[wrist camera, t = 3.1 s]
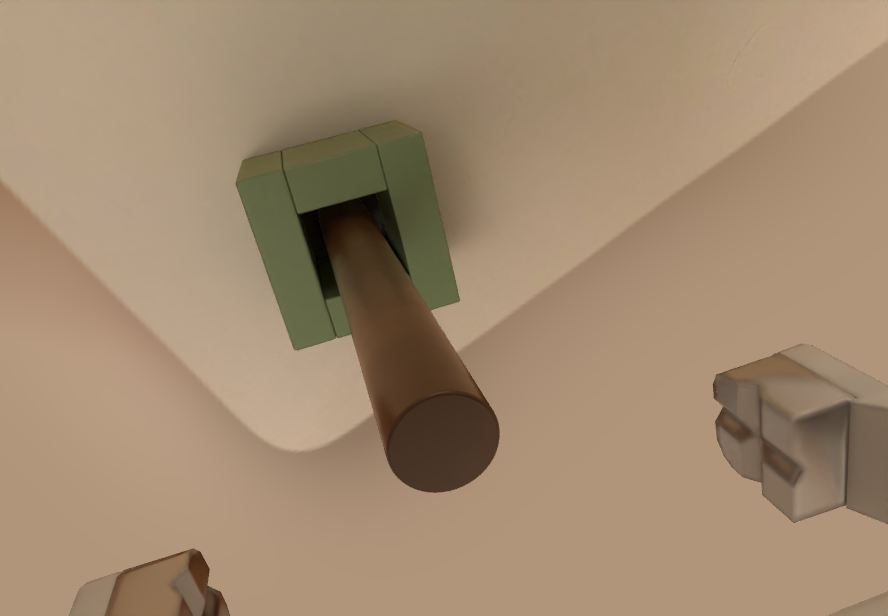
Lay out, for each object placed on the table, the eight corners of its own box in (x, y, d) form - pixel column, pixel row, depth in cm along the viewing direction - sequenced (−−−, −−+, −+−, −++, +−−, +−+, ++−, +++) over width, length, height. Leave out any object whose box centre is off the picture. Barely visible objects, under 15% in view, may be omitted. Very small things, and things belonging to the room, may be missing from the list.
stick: (325, 244, 28) (402, 509, 11) (312, 198, 27) (372, 413, 11) (371, 231, 28) (510, 471, 12) (358, 186, 27) (488, 376, 11)
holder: (291, 305, 28) (294, 352, 24) (241, 160, 26) (234, 181, 21) (431, 263, 29) (460, 301, 25) (396, 120, 27) (421, 131, 22)
